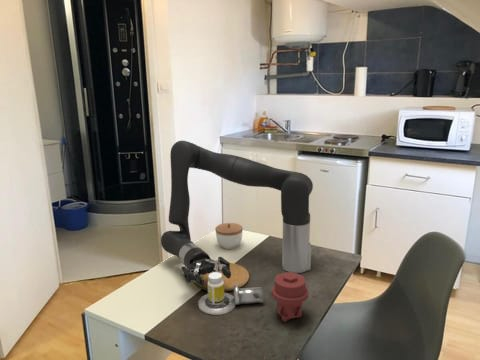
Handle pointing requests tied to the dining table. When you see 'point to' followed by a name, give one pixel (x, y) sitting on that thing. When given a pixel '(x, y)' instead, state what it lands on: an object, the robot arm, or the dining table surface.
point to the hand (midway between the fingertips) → (216, 279)
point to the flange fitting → (232, 300)
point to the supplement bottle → (215, 288)
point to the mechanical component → (289, 294)
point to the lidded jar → (229, 235)
